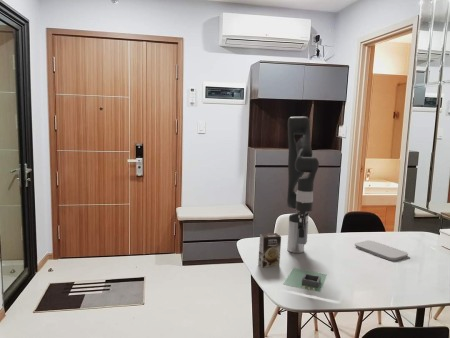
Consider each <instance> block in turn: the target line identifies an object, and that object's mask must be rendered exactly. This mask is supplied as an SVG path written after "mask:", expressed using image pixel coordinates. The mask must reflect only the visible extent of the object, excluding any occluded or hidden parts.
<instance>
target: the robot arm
mask: <svg viewBox="0 0 450 338" xmlns="http://www.w3.org/2000/svg"><path fill="white" fill-rule="evenodd" d="M296 135H301V137H300V138H299V139H298V140H297V141H296V138H295V136H296ZM287 136H288V137H287V138H288V140H287V141H288V159H287V160H288V163H287V166H288V167H287V169H288V170H287V172H288V177H287V178H288V184H287V185H288V186H287V195H286V196H287V197H286V198H287V200H286V203H287V207H288V208H290V209H295V210H296V211H298V212H295V213H291V214H290V215H289V217H288V231H287V232H288V234H287V248H286V249H287V250H286V251H288V252H289V253H294V254H301V253H304V251H305V245H304V244H298V243H297V229H299V237H300V238H303V237H304V229H305V225H306V221H307V222H308V223H309V214H310V212H312V211H313V204H314V181H315V179H316V175H317V172H318V169H319V165H320V163H319V160H318V158H317V157H315V156H313V150H312V143H311V122H310V118H309V117H308V116H290V117H288V120H287ZM305 173H308V175H306V176H304V174H305ZM302 176H303V177H302ZM296 186H297V190H296V191H295V187H296ZM304 222H305V223H304ZM300 225H301V226H302V227H300Z"/></svg>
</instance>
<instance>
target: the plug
mask: <svg viewBox="0 0 450 338" xmlns="http://www.w3.org/2000/svg"><path fill="white" fill-rule="evenodd" d="M304 223H305V222H304ZM300 227H302V226H301V225H300ZM308 231H309V221H308V222H307V221H306V225H305V229H304V237H303V238H300V237H299V229H297V243H298V244H304V246H305V245H307V242H308Z"/></svg>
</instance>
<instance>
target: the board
mask: <svg viewBox="0 0 450 338" xmlns="http://www.w3.org/2000/svg"><path fill="white" fill-rule="evenodd" d="M327 276H328V275H327V274H326V273H321V272H315V271H311V270H305V269H299V268H295V267H293V268H292V269H291V270H290V273H289V275H288V276H286V278H285V280H284V282H283V283H282V285H284V286H289V287H293V288H299V289H304V290H307V291H312V292H317V293H321V292H322V289H323V286H324V283H325V280H326V278H327Z"/></svg>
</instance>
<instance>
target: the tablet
mask: <svg viewBox="0 0 450 338" xmlns="http://www.w3.org/2000/svg"><path fill="white" fill-rule="evenodd" d="M354 246H355V248H356V249H359V250H361V251H364V252H366V253H368V254H371V255H374V256H377V257H378V258H379V257H380V258H382V259H385V260H388V261H393V262H394V261H397V260H401V259H405V258H407V256H409V253H408V252H407V251H404V250H401V249H399V248H397V247H396V248H395V247H393V246H389V245H386V244H383V243H380V242H377V241H375V240H363V241H360V242H358V241H357V242H355V243H354Z"/></svg>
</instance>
